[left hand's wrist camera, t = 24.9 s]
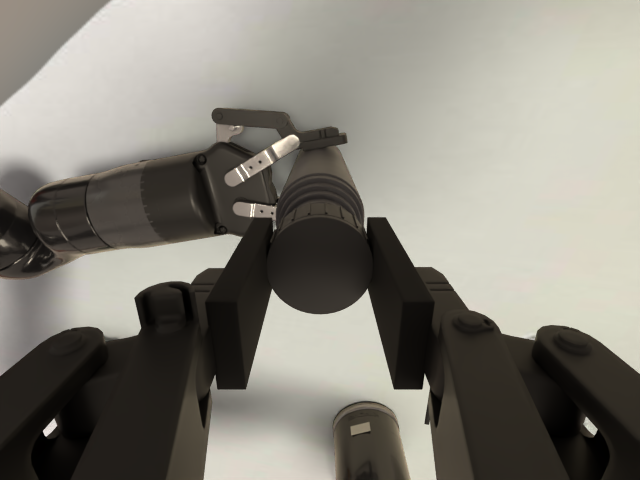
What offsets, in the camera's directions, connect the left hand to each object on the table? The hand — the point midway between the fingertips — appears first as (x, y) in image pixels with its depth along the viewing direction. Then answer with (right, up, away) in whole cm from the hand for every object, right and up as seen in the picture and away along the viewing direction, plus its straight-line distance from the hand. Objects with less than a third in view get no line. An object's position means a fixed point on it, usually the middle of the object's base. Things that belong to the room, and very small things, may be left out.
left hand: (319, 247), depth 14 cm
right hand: (+3, +6, +15) cm, 16 cm away
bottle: (0, +8, +21) cm, 23 cm away
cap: (0, -1, -2) cm, 2 cm away
